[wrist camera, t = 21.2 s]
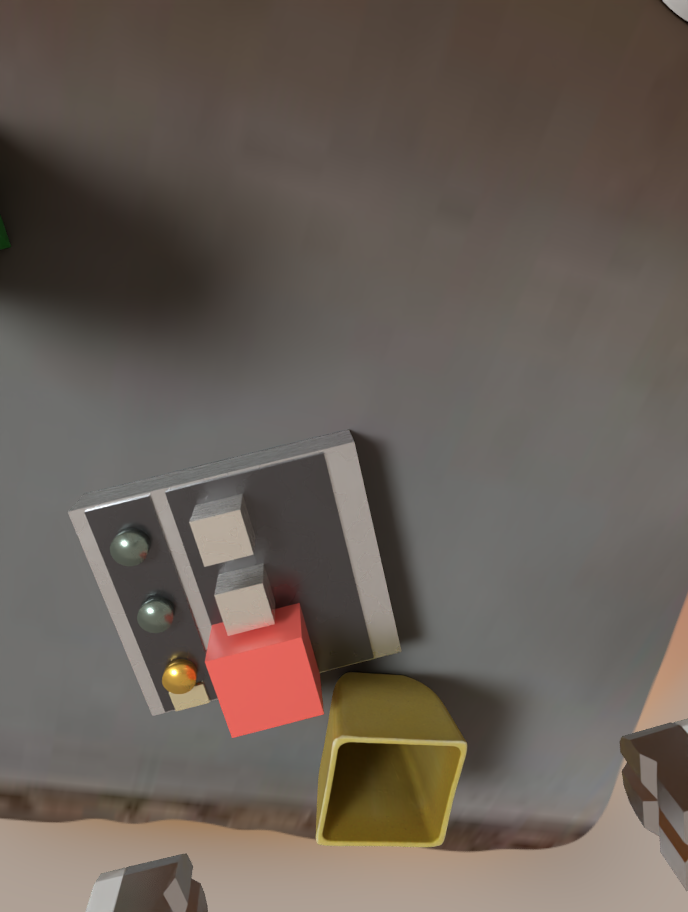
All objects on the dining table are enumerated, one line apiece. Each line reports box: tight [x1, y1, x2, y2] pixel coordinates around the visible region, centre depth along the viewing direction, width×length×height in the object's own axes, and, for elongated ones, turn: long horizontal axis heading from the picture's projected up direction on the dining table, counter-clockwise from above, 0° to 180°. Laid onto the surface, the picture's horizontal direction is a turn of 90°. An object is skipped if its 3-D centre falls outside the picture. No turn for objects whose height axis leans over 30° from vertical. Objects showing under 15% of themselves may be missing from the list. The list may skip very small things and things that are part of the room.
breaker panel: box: [68, 429, 402, 716], centre depth 38 cm, size 18×16×6 cm
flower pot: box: [316, 672, 467, 847], centre depth 41 cm, size 9×9×9 cm
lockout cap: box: [205, 603, 324, 738], centre depth 37 cm, size 6×6×4 cm
